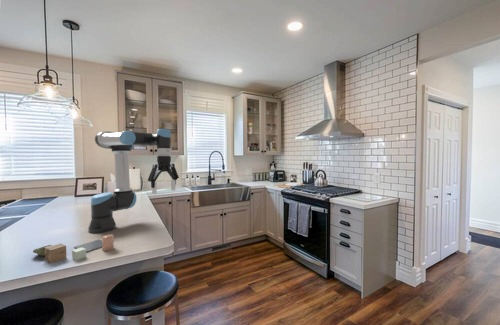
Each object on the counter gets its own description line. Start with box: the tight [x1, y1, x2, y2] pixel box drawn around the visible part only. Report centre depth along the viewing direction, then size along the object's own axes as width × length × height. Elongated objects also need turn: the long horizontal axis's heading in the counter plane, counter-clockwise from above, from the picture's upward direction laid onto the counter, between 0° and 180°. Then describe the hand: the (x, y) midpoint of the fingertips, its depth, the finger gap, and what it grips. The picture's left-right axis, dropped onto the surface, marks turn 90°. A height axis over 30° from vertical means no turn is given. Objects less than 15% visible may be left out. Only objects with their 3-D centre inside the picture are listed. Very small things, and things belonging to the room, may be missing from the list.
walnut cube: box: [44, 243, 67, 264], centre depth 105 cm, size 6×6×6 cm
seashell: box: [32, 244, 53, 257], centre depth 110 cm, size 10×7×10 cm
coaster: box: [73, 239, 102, 254], centre depth 119 cm, size 12×12×1 cm
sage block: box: [71, 247, 87, 261], centre depth 106 cm, size 4×4×4 cm
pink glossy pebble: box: [101, 234, 115, 252], centre depth 115 cm, size 5×5×7 cm
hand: (164, 191), depth 131 cm, fingers open, 13 cm apart
